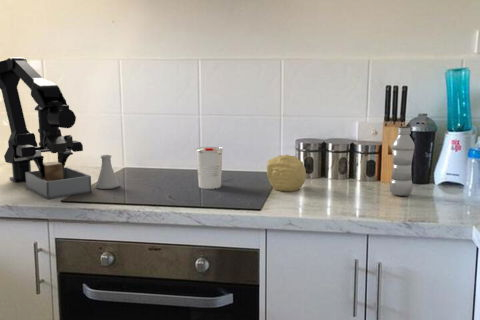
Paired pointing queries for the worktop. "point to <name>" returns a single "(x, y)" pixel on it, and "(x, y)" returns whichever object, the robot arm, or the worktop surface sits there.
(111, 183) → the flask
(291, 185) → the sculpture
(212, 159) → the white bucket
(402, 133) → the plastic bottle
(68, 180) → the tote
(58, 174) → the walnut cube
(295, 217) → the worktop surface
